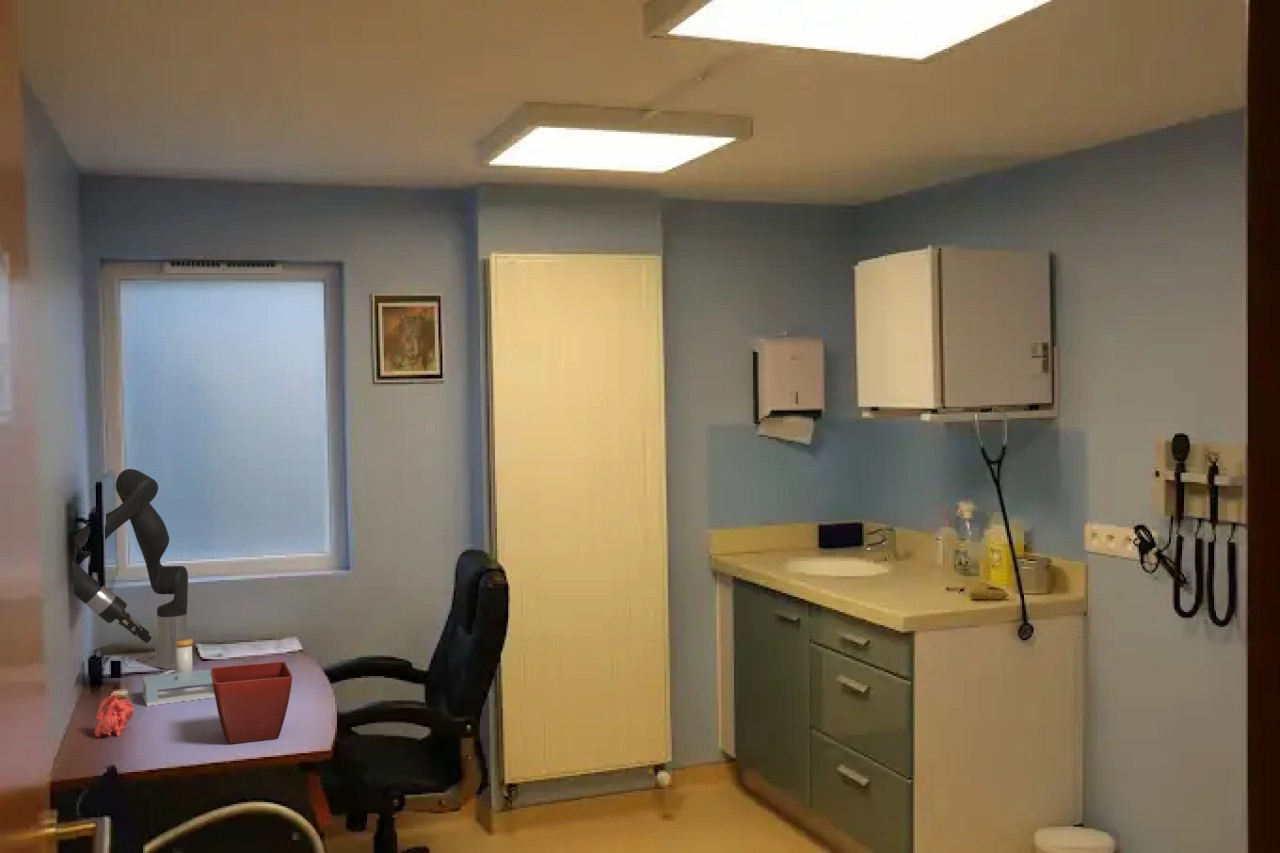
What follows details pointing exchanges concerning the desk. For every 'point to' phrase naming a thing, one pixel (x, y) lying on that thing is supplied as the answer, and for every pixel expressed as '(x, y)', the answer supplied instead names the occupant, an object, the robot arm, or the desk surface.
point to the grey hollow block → (177, 680)
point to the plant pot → (252, 700)
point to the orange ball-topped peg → (184, 655)
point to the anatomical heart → (113, 716)
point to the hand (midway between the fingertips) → (148, 638)
